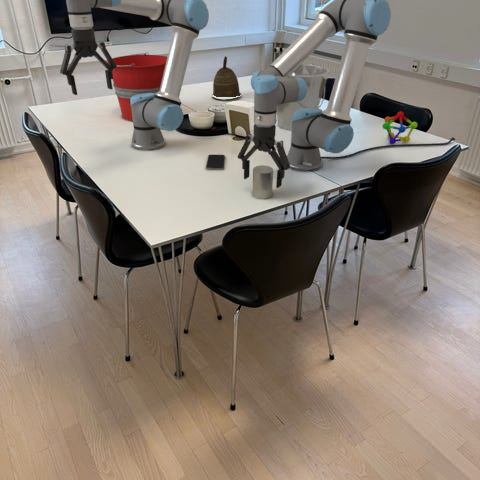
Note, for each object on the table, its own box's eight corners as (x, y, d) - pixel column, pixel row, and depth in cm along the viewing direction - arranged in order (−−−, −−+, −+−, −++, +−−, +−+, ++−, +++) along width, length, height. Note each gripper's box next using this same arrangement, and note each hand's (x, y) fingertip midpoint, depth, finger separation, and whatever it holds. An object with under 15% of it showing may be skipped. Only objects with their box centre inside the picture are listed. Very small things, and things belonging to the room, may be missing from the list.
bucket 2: (296, 138, 215) (301, 78, 201) (255, 124, 234) (256, 68, 219) (335, 125, 232) (342, 70, 217) (294, 113, 251) (297, 61, 236)
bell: (227, 105, 294) (202, 96, 282) (238, 66, 289) (213, 55, 277) (243, 108, 280) (217, 98, 268) (255, 66, 275) (229, 55, 263)
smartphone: (205, 167, 182) (208, 154, 195) (205, 169, 182) (208, 155, 195) (223, 168, 182) (225, 154, 194) (223, 169, 182) (225, 156, 195)
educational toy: (377, 146, 209) (379, 114, 202) (384, 138, 219) (386, 107, 211) (411, 149, 202) (415, 116, 195) (417, 141, 212) (420, 109, 204)
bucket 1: (121, 106, 263) (114, 51, 247) (180, 106, 262) (176, 52, 246) (104, 123, 233) (95, 63, 217) (170, 124, 232) (166, 64, 216)
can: (268, 200, 159) (270, 174, 154) (249, 197, 161) (250, 171, 156) (274, 191, 165) (275, 166, 160) (255, 188, 167) (256, 164, 162)
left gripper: (49, 32, 143) (63, 98, 154) (120, 26, 156) (128, 88, 168) (41, 29, 148) (55, 94, 159) (111, 24, 161) (119, 84, 173)
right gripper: (227, 120, 152) (228, 177, 163) (292, 133, 141) (288, 194, 152) (239, 115, 158) (239, 171, 169) (303, 127, 146) (297, 186, 157)
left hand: (92, 91), depth 163 cm, fingers open, 13 cm apart
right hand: (262, 182), depth 160 cm, fingers open, 13 cm apart
